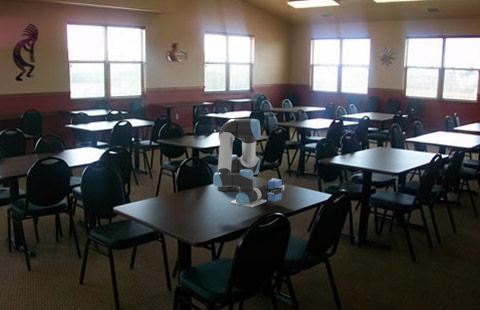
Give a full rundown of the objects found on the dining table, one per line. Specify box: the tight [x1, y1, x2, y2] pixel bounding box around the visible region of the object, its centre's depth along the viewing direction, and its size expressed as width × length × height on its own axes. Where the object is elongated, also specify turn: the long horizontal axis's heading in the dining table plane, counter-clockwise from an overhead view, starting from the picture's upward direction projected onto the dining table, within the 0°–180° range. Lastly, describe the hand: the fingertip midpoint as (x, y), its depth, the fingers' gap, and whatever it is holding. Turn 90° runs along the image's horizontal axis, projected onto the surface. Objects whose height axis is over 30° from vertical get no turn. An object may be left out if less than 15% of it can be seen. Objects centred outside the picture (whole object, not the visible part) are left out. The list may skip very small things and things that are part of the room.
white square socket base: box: [230, 199, 268, 208], centre depth 304 cm, size 16×16×4 cm
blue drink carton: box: [267, 178, 283, 202], centre depth 296 cm, size 7×5×13 cm
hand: (279, 186), depth 300 cm, fingers closed on blue drink carton, 5 cm apart
